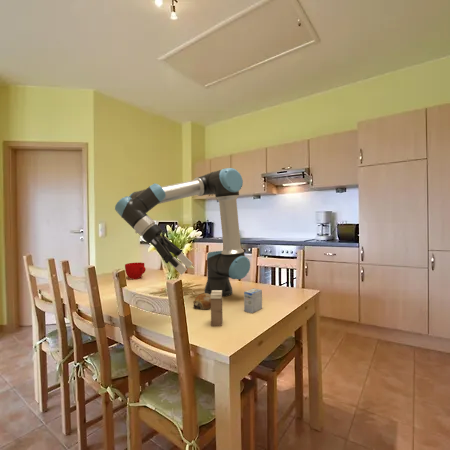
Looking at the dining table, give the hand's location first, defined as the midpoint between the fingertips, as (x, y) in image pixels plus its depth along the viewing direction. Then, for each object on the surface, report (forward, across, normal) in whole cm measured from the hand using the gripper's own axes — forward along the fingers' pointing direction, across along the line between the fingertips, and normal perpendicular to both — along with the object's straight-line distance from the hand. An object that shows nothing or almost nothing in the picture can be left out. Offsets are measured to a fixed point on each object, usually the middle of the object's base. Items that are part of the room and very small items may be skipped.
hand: (187, 268), depth 105 cm
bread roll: (+18, -20, -12) cm, 30 cm away
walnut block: (+23, 0, -7) cm, 24 cm away
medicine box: (+33, -15, +4) cm, 37 cm away
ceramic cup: (-20, -82, -50) cm, 98 cm away
